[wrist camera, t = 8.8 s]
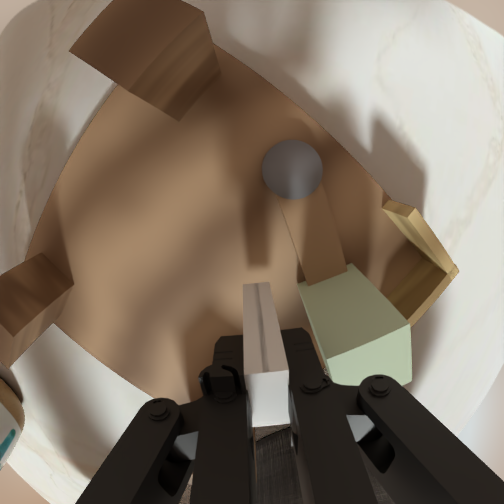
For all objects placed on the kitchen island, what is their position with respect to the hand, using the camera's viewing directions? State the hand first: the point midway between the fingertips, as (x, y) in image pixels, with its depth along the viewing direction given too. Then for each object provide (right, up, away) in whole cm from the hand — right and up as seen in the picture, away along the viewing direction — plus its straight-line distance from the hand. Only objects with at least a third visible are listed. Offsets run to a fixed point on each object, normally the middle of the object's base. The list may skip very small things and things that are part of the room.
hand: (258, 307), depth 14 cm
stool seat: (-4, +2, +4) cm, 6 cm away
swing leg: (+3, +3, +1) cm, 5 cm away
